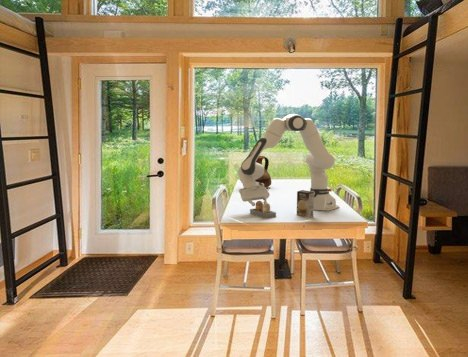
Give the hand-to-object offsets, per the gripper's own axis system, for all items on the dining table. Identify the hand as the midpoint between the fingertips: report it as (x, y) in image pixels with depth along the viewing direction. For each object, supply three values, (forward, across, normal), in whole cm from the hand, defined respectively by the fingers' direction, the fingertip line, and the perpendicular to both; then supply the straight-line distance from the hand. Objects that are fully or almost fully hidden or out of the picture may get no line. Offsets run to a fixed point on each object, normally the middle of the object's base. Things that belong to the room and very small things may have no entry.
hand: (259, 204), depth 232 cm
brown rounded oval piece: (+4, 0, +5) cm, 6 cm away
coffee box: (+18, +22, -8) cm, 29 cm away
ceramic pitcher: (-55, +63, +65) cm, 106 cm away
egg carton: (+7, 0, +3) cm, 8 cm away
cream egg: (+9, 0, -1) cm, 9 cm away
